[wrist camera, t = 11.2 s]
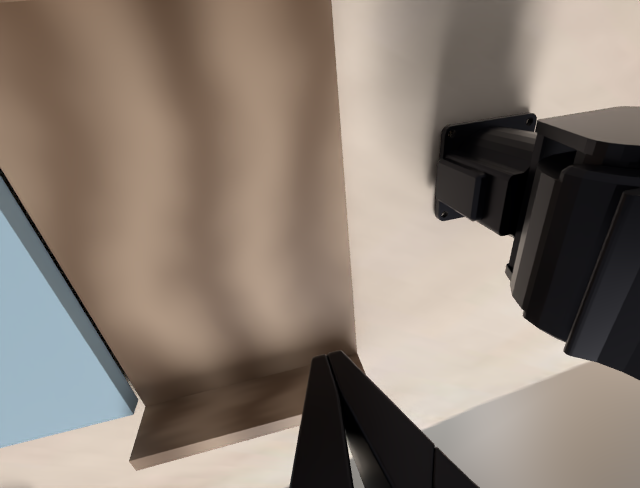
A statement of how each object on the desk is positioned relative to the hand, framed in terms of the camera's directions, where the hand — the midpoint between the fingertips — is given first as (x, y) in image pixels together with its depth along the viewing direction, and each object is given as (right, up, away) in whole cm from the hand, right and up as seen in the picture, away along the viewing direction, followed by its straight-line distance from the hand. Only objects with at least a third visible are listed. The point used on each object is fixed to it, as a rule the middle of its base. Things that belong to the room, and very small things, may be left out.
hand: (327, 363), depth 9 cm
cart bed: (-7, +4, +11) cm, 14 cm away
